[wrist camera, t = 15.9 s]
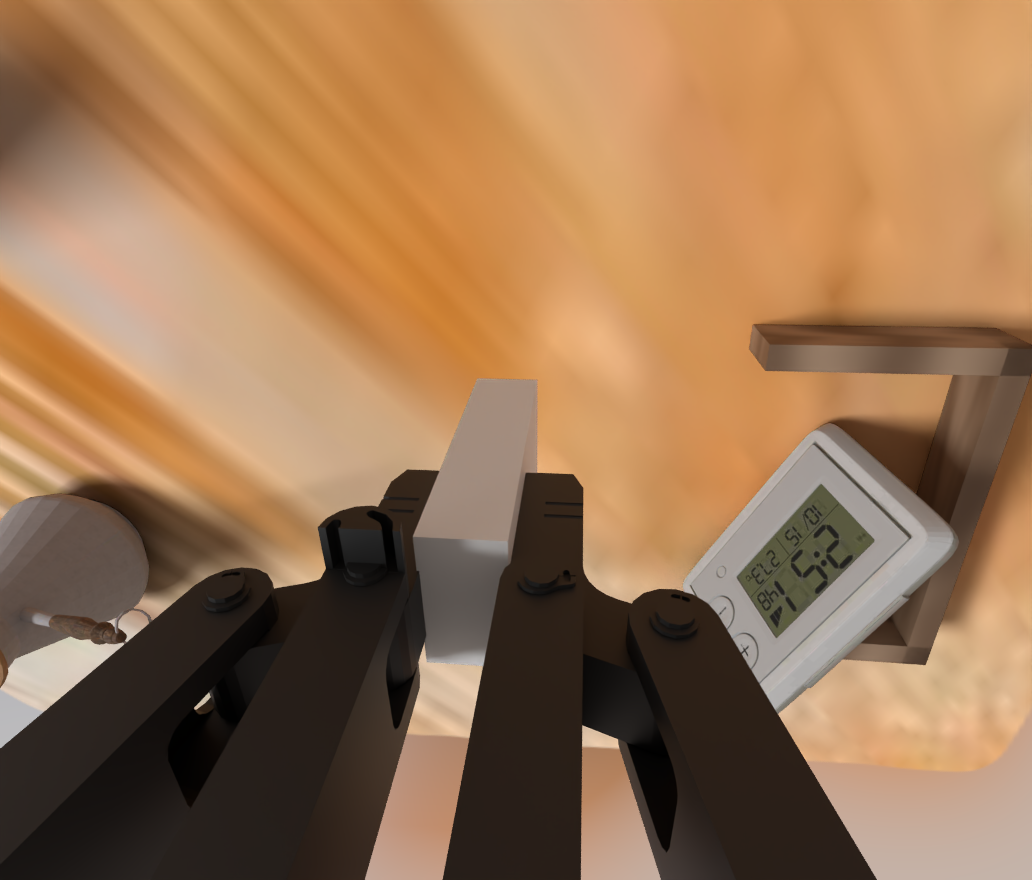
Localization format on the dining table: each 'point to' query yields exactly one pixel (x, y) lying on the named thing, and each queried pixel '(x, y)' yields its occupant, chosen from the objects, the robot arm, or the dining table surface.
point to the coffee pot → (66, 574)
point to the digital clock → (819, 561)
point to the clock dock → (956, 446)
